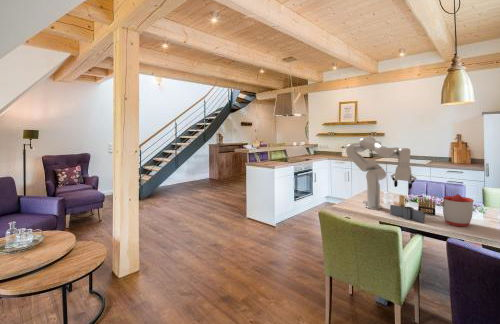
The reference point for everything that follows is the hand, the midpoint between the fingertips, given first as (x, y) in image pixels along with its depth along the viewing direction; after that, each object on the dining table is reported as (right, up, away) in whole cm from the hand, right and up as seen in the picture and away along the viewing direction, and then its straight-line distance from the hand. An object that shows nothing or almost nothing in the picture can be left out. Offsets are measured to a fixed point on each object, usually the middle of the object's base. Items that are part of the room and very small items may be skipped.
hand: (402, 187), depth 191 cm
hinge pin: (0, -20, +2) cm, 20 cm away
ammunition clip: (+18, -20, +1) cm, 27 cm away
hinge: (-1, -21, -7) cm, 22 cm away
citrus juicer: (+21, -22, -22) cm, 38 cm away
